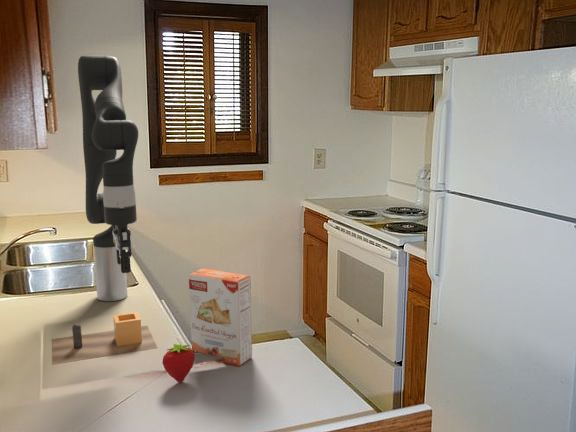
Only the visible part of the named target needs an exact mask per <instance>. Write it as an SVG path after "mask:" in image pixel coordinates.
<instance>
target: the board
mask: <svg viewBox="0 0 576 432" xmlns="http://www.w3.org/2000/svg"><path fill="white" fill-rule="evenodd" d="M71 330H72V336H71V335H70V336H65V337H57V338H52V339H51V365H59V364H65V363H70V362H78V361H84V360H90V359H96V358H97V359H98V358H102V357H103V358H104V357H110V356H115V355H122V354H128V353H134V352H140V351H148V350H153V349H158V346H157V344H156V342H155V339H154V337H153V334H152V332H151V330H150V328H149V326H148V325H141V334H142V342H141V343H134V344H128V345H121V346H117V343H116V340H115V334H114V329H113V330H107V331H106V330H105V331H100V332H94V333H93V332H92V333H86V334H82V326H81V325H80V324H79V323H75V324H73V325H72V329H71Z"/></svg>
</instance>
